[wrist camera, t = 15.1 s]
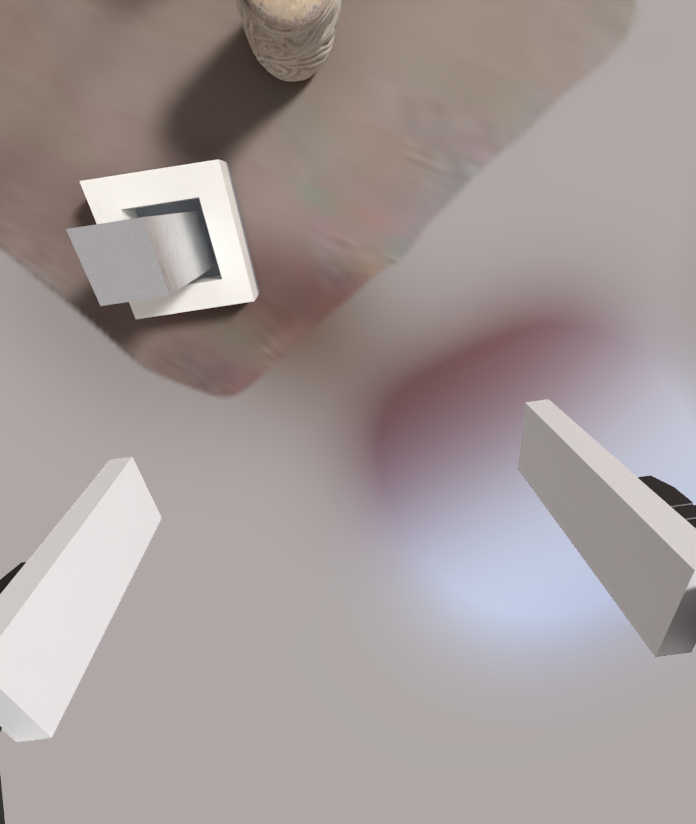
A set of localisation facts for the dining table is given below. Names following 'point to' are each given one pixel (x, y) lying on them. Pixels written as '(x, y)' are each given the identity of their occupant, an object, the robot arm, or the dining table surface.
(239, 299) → the bore block
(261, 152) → the dining table surface
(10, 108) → the dining table surface
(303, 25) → the carving
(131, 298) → the square peg
